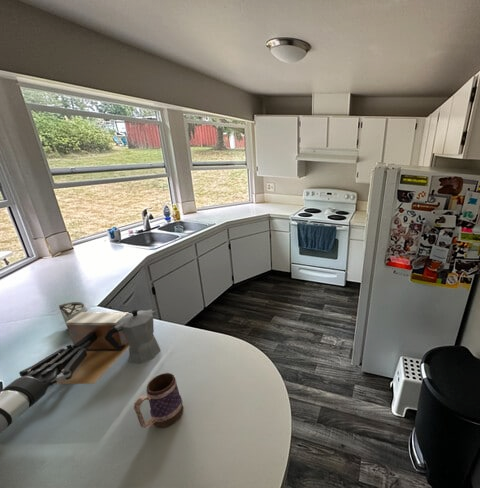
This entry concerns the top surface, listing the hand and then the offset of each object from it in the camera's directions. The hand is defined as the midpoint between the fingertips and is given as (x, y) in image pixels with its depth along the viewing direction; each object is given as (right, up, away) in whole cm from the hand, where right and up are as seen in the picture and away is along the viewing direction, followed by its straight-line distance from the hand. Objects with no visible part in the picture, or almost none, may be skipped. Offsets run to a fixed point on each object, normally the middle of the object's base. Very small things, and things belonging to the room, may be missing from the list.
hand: (94, 335), depth 84 cm
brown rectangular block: (0, -5, +5) cm, 7 cm away
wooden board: (0, -7, +1) cm, 7 cm away
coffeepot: (+16, -8, +1) cm, 18 cm away
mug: (+36, -16, -19) cm, 43 cm away
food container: (-17, -2, +13) cm, 22 cm away
